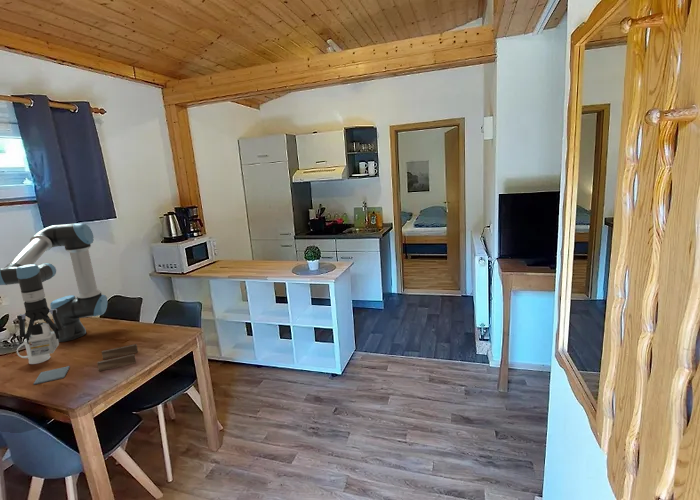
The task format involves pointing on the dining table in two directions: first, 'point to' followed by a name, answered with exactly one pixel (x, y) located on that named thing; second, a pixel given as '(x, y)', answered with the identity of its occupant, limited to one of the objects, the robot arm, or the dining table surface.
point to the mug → (31, 359)
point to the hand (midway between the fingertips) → (45, 347)
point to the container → (41, 340)
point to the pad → (51, 375)
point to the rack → (120, 360)
